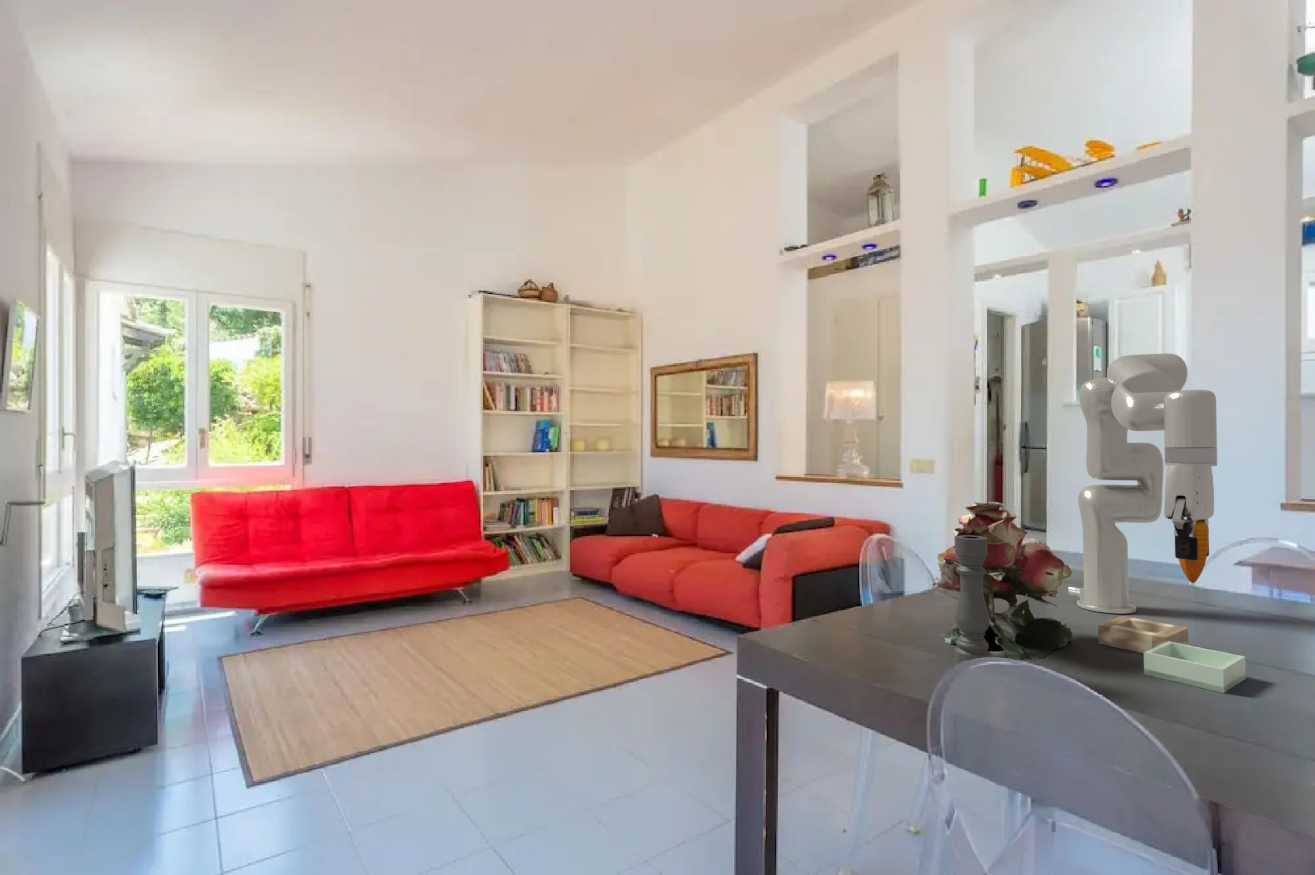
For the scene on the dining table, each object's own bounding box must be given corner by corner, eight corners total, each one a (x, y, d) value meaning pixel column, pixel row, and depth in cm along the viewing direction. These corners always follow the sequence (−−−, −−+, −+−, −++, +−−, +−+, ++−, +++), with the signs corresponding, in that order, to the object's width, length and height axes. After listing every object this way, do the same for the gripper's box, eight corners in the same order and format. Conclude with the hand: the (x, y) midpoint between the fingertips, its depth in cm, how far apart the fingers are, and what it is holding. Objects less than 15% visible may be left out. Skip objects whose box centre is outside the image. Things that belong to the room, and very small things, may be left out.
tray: (1144, 674, 123) (1143, 652, 123) (1168, 661, 130) (1168, 641, 130) (1223, 693, 114) (1223, 669, 114) (1245, 679, 120) (1245, 656, 120)
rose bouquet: (1083, 638, 146) (1081, 501, 146) (1029, 668, 127) (1026, 510, 128) (967, 615, 166) (965, 494, 166) (904, 638, 147) (903, 502, 147)
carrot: (1205, 581, 123) (1203, 500, 123) (1214, 586, 119) (1212, 502, 119) (1172, 579, 125) (1170, 499, 125) (1179, 584, 121) (1178, 501, 121)
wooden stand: (1098, 643, 142) (1098, 624, 142) (1122, 633, 149) (1122, 615, 149) (1165, 658, 132) (1165, 637, 132) (1188, 647, 139) (1188, 627, 139)
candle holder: (948, 663, 130) (946, 535, 130) (979, 662, 131) (977, 534, 131) (966, 674, 124) (964, 540, 124) (997, 673, 125) (995, 539, 125)
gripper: (1183, 456, 130) (1184, 550, 130) (1147, 458, 120) (1149, 559, 120) (1232, 457, 124) (1234, 555, 124) (1198, 459, 114) (1200, 565, 114)
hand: (1192, 556), depth 122 cm, fingers closed on carrot, 4 cm apart
